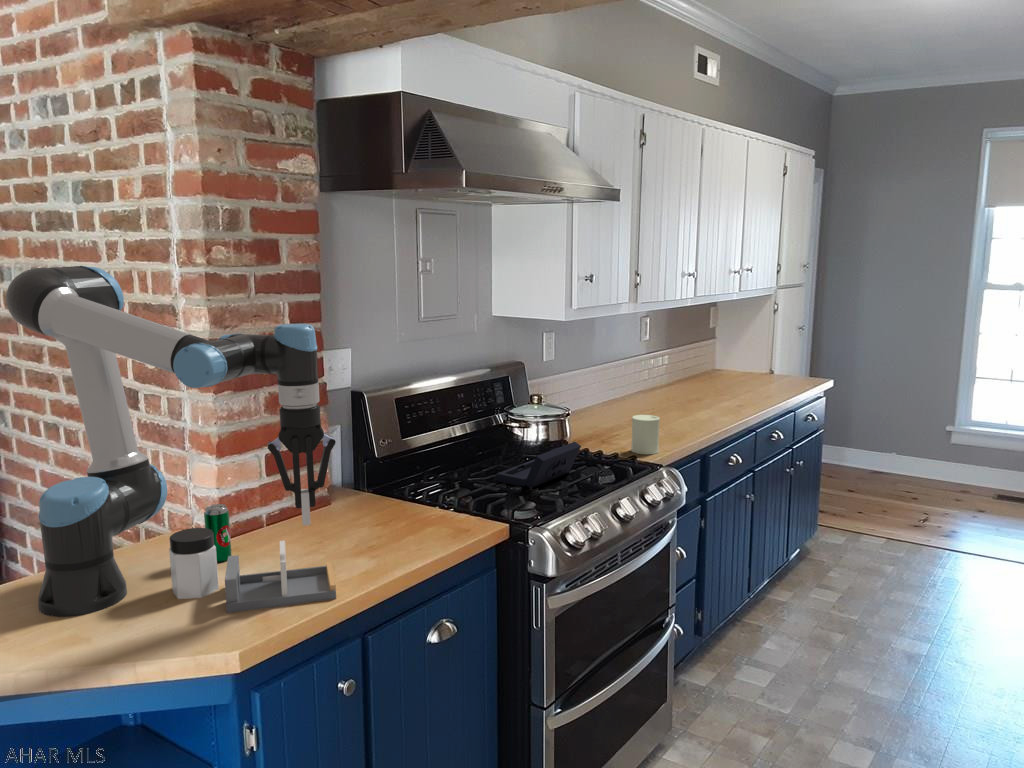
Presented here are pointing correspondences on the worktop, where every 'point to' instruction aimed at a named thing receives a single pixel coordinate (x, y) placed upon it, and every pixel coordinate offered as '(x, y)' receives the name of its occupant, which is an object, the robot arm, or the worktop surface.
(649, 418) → the can
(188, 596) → the jar
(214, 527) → the soda can
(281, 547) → the pusher
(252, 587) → the grey tray
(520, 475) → the dark navy angled device
